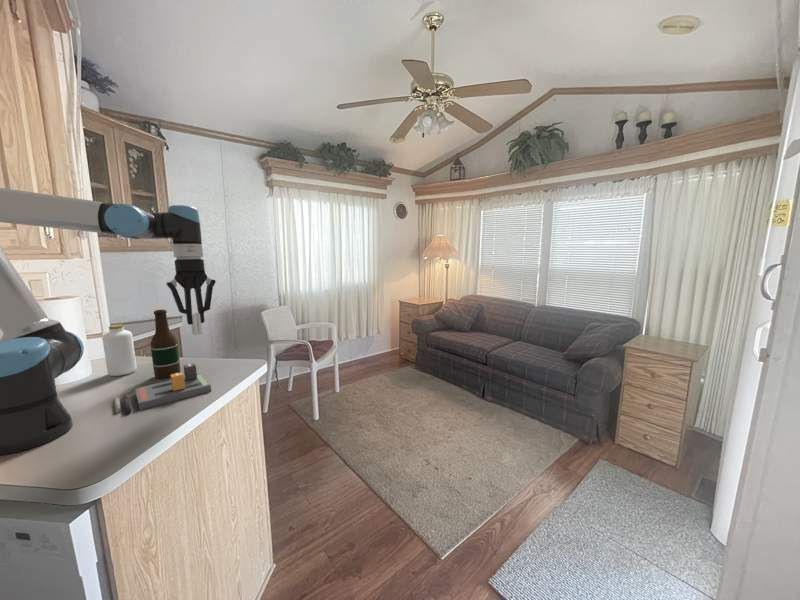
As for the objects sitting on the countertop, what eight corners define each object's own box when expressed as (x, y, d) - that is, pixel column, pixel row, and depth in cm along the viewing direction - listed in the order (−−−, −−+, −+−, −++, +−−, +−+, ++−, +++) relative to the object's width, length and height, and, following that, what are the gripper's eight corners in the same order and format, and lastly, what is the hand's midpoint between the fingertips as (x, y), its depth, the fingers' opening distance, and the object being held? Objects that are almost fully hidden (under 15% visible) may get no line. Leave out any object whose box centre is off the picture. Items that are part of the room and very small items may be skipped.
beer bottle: (186, 371, 122) (178, 308, 118) (169, 379, 114) (161, 312, 111) (166, 371, 123) (158, 308, 119) (149, 379, 115) (140, 312, 111)
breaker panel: (139, 409, 92) (138, 403, 92) (135, 394, 102) (134, 388, 102) (211, 391, 104) (210, 384, 104) (201, 379, 114) (200, 373, 114)
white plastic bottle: (112, 371, 123) (105, 324, 121) (140, 367, 127) (133, 322, 124) (104, 378, 116) (96, 329, 113) (133, 374, 119) (126, 326, 117)
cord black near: (131, 413, 90) (130, 408, 90) (125, 415, 89) (124, 410, 89) (128, 398, 99) (128, 394, 99) (122, 400, 98) (122, 395, 98)
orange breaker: (173, 391, 99) (171, 376, 98) (172, 388, 101) (170, 374, 100) (185, 388, 101) (183, 374, 100) (183, 385, 103) (181, 371, 102)
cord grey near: (121, 412, 91) (120, 408, 91) (115, 413, 90) (114, 409, 90) (119, 399, 99) (119, 396, 98) (114, 401, 98) (113, 397, 98)
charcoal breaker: (186, 380, 107) (185, 367, 106) (184, 378, 109) (183, 365, 108) (197, 378, 109) (195, 365, 108) (195, 375, 111) (193, 362, 110)
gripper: (163, 259, 92) (173, 340, 96) (217, 257, 101) (224, 332, 105) (159, 258, 98) (169, 335, 101) (211, 257, 107) (218, 328, 110)
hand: (197, 333), depth 103 cm, fingers closed
